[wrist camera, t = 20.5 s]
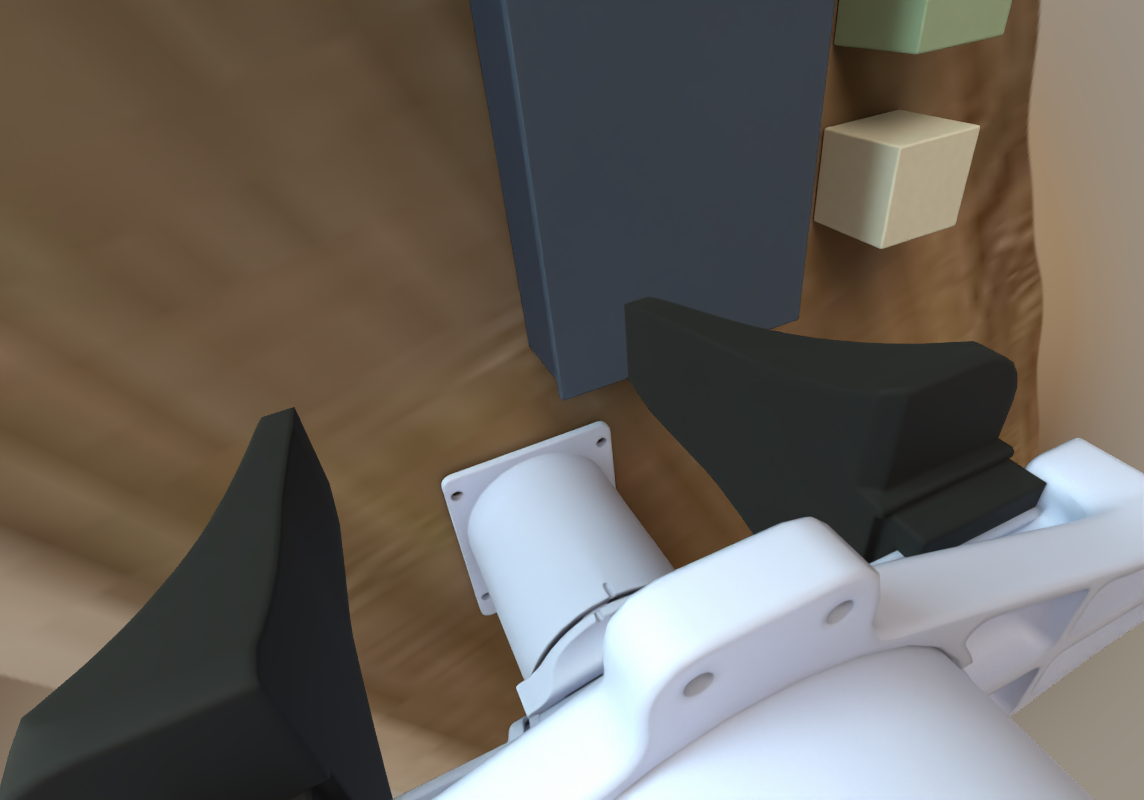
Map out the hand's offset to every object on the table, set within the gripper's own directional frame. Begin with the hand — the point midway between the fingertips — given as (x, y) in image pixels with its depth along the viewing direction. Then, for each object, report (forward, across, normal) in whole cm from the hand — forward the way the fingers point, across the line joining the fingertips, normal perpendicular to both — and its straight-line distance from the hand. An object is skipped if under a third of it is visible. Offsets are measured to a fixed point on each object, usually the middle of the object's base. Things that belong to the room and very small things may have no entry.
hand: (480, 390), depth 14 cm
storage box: (+10, -9, -2) cm, 14 cm away
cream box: (+10, -20, +2) cm, 23 cm away
